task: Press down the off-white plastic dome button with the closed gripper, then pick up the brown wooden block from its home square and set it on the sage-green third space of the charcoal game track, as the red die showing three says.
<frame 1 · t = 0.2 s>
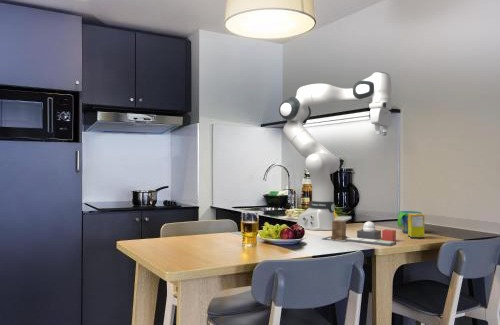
hand: (381, 135, 217), 47 cm above the table, fingers open, 8 cm apart
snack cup: (410, 233, 223), on the table
brown wooden block: (338, 239, 201), on the table
red die: (389, 240, 198), on the table
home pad: (338, 238, 201), on the table
supplement box: (415, 238, 207), on the table
dome button: (369, 227, 203), point 5 cm above the table, slide at 0.0 cm
dome housing: (369, 238, 203), on the table
game track: (370, 242, 193), on the table
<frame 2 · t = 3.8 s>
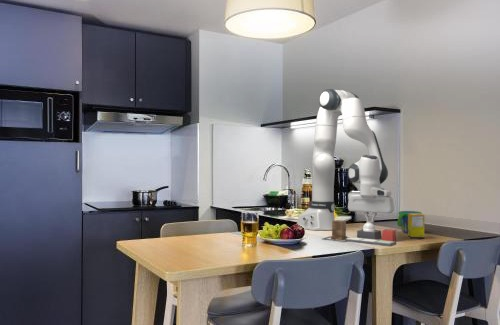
hand: (370, 222, 203), 7 cm above the table, fingers closed
dome button: (369, 228, 203), point 4 cm above the table, slide at 0.4 cm, touching gripper
everything else where it was.
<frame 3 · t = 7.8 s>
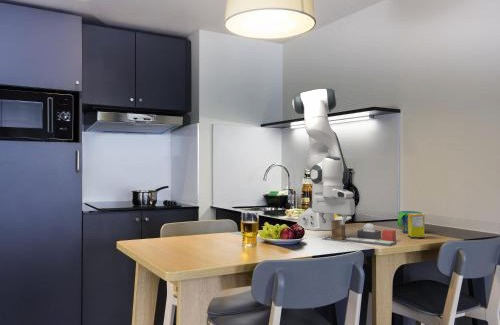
hand: (332, 224, 201), 7 cm above the table, fingers open, 8 cm apart
brown wooden block: (338, 238, 201), on the table, touching gripper
dome button: (369, 229, 203), point 4 cm above the table, slide at 0.8 cm
everything else where it was.
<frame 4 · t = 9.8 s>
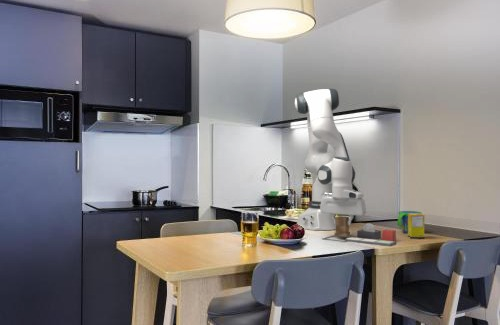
hand: (342, 224, 201), 6 cm above the table, fingers closed on brown wooden block, 4 cm apart
brown wooden block: (342, 235, 201), point 2 cm above the table, touching gripper
everything else where it was.
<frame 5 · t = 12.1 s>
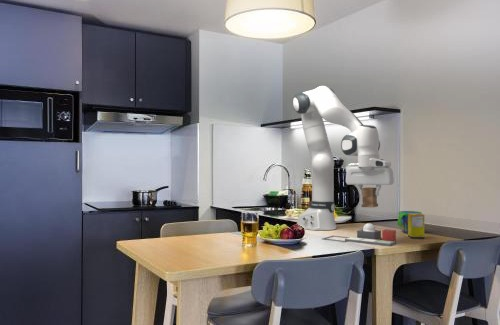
hand: (369, 195, 192), 20 cm above the table, fingers closed on brown wooden block, 4 cm apart
brown wooden block: (369, 206, 192), point 15 cm above the table, touching gripper
everything else where it was.
when the fingers open (7 cm above the table, at t = 15.3 s): brown wooden block drops 1 cm, resting on game track.
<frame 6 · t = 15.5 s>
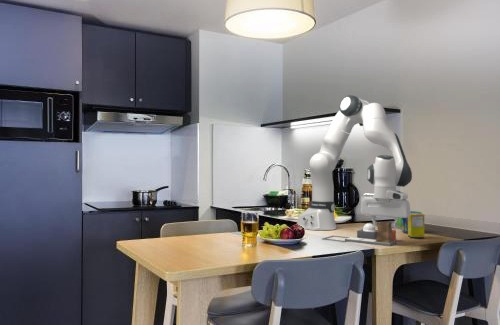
hand: (384, 227, 189), 7 cm above the table, fingers open, 6 cm apart
brown wooden block: (384, 241, 189), point 1 cm above the table, touching game track
everything else where it was.
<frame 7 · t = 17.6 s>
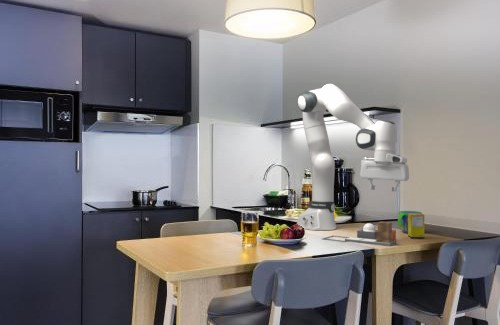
hand: (383, 190, 193), 22 cm above the table, fingers open, 8 cm apart
nothing on the table moved.
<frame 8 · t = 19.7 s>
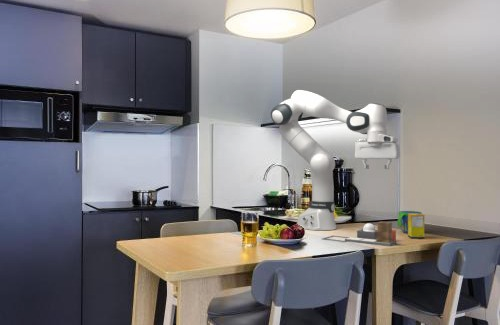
hand: (376, 168, 208), 31 cm above the table, fingers open, 8 cm apart
nothing on the table moved.
at the end: dome button slide at 0.8 cm; brown wooden block 0.2 cm from the target spot, point 0.9 cm above the table; brown wooden block tilted 0° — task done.
